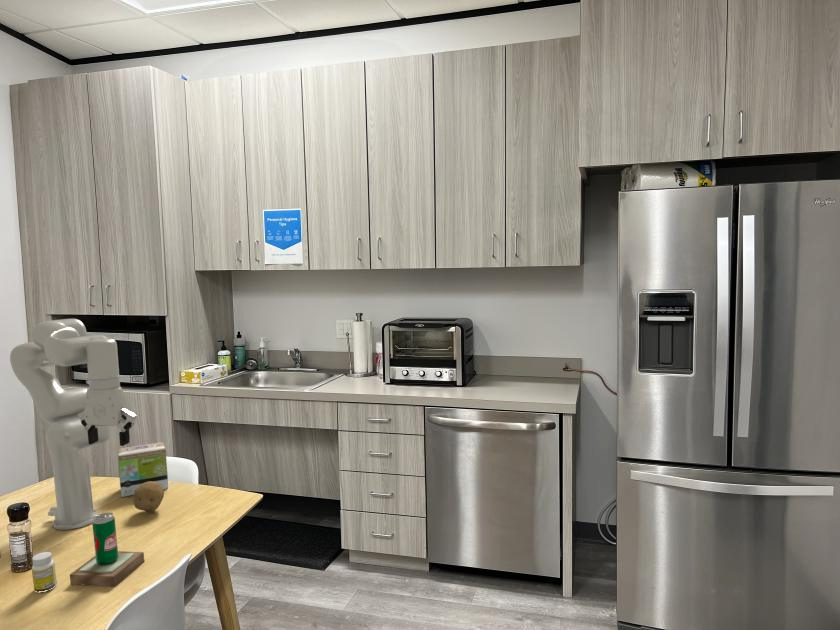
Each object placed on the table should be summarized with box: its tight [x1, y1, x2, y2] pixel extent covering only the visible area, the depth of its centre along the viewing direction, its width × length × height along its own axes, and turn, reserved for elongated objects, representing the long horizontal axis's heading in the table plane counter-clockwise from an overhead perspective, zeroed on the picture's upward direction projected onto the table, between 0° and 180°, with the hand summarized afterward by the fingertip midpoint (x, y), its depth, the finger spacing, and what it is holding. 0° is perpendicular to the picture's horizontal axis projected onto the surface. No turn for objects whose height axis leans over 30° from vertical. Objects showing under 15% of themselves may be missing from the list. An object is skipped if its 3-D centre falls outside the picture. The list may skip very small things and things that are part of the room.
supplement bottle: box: [31, 551, 58, 592], centre depth 146 cm, size 5×5×8 cm
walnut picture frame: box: [69, 550, 145, 588], centre depth 153 cm, size 12×12×3 cm
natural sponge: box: [132, 481, 165, 514], centre depth 188 cm, size 9×9×10 cm
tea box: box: [117, 441, 169, 498], centre depth 209 cm, size 15×10×15 cm, turn 117°
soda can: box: [91, 512, 119, 565], centre depth 152 cm, size 5×5×12 cm
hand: (109, 443), depth 167 cm, fingers open, 9 cm apart
